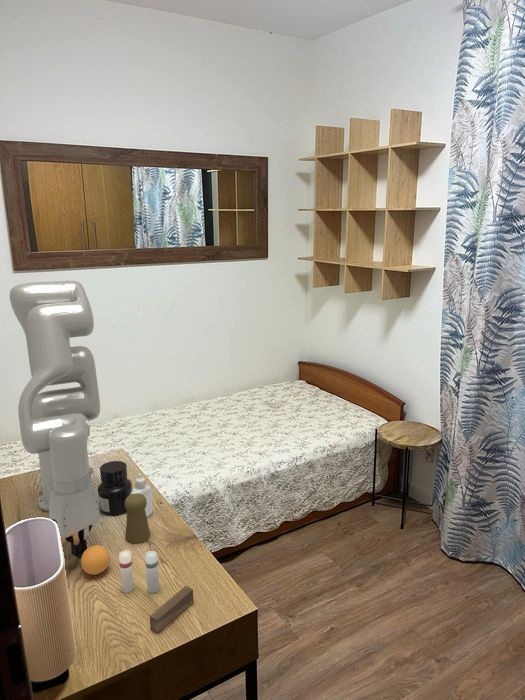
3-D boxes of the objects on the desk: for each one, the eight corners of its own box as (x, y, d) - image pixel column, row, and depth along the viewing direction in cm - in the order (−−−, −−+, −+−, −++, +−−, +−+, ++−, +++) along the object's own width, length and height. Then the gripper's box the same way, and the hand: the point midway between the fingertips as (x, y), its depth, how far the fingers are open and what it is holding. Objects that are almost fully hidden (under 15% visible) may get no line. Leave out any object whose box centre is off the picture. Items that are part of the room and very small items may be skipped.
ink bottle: (100, 499, 144) (97, 460, 141) (133, 495, 146) (130, 456, 143) (98, 519, 135) (94, 477, 132) (133, 514, 137) (130, 473, 134)
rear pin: (144, 590, 110) (142, 555, 107) (153, 583, 112) (151, 548, 109) (153, 595, 108) (150, 559, 106) (161, 588, 110) (159, 553, 108)
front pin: (119, 590, 110) (116, 555, 108) (128, 583, 112) (125, 548, 110) (127, 594, 108) (124, 559, 106) (136, 587, 110) (133, 553, 108)
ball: (78, 548, 112) (95, 569, 110) (101, 535, 117) (117, 554, 114) (72, 564, 115) (88, 585, 113) (95, 550, 120) (111, 570, 117)
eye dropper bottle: (154, 518, 136) (152, 476, 133) (132, 522, 134) (129, 480, 131) (151, 509, 140) (149, 468, 137) (130, 513, 138) (127, 472, 135)
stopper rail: (150, 628, 99) (149, 615, 99) (186, 597, 107) (185, 585, 107) (157, 633, 98) (157, 620, 98) (193, 601, 106) (193, 589, 106)
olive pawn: (144, 545, 124) (141, 504, 122) (120, 542, 126) (117, 501, 123) (154, 531, 130) (152, 491, 127) (131, 528, 131) (129, 488, 129)
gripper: (90, 464, 121) (96, 534, 125) (30, 490, 109) (39, 567, 114) (111, 472, 117) (117, 545, 121) (51, 501, 105) (60, 580, 109)
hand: (79, 555), depth 117 cm, fingers closed
